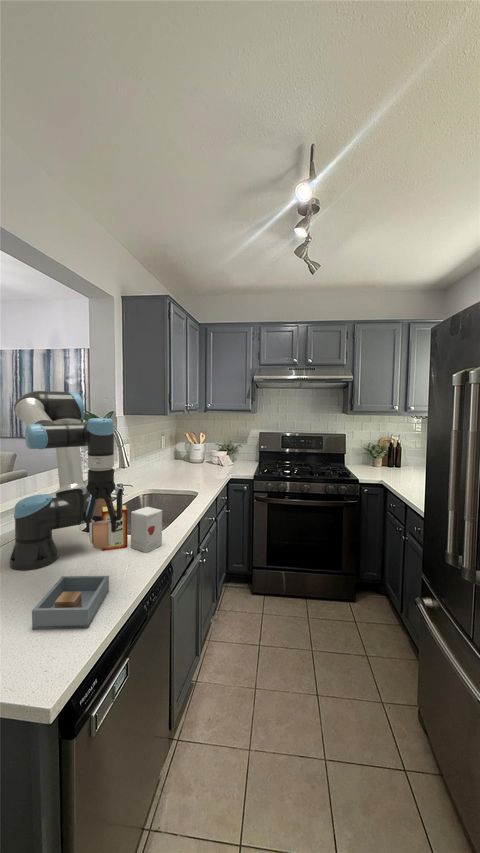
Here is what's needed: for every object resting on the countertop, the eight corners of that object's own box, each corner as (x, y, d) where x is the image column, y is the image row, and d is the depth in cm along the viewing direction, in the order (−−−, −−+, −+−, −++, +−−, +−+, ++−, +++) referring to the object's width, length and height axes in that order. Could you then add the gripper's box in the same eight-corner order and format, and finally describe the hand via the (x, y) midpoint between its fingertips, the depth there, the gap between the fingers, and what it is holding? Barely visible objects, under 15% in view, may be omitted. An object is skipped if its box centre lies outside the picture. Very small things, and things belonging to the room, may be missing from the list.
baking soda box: (102, 550, 140) (101, 510, 139) (101, 544, 146) (101, 506, 145) (127, 547, 144) (127, 508, 143) (126, 541, 150) (126, 504, 149)
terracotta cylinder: (90, 548, 109) (90, 526, 109) (95, 542, 114) (95, 520, 114) (107, 548, 110) (107, 525, 109) (111, 541, 115) (111, 520, 114)
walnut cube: (54, 620, 95) (54, 602, 94) (63, 609, 100) (63, 591, 99) (74, 620, 95) (73, 601, 94) (81, 609, 100) (81, 591, 99)
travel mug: (104, 536, 155) (103, 491, 153) (88, 534, 156) (87, 489, 155) (113, 530, 162) (113, 486, 161) (98, 528, 164) (98, 485, 162)
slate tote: (32, 629, 92) (31, 610, 92) (62, 592, 110) (62, 576, 109) (88, 628, 93) (87, 609, 93) (108, 591, 111) (108, 575, 110)
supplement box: (146, 553, 139) (146, 515, 138) (130, 548, 143) (130, 511, 142) (162, 545, 146) (162, 509, 145) (147, 540, 151) (147, 506, 150)
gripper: (66, 470, 106) (67, 547, 107) (128, 470, 108) (128, 546, 109) (75, 466, 113) (75, 538, 115) (133, 466, 115) (133, 536, 117)
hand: (101, 541), depth 112 cm, fingers closed on terracotta cylinder, 5 cm apart
